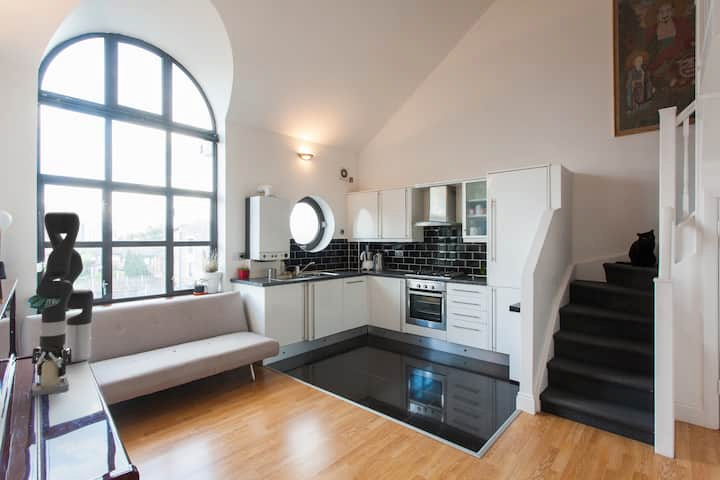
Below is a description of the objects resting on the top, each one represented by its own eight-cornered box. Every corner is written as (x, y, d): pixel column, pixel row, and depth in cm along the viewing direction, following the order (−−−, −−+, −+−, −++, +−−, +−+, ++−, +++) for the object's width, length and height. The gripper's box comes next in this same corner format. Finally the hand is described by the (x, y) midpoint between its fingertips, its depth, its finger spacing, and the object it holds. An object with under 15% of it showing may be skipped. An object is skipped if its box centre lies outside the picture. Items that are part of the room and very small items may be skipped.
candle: (37, 387, 134) (38, 360, 134) (54, 382, 139) (55, 356, 139) (46, 389, 132) (47, 362, 132) (63, 384, 137) (64, 358, 137)
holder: (32, 388, 135) (32, 383, 135) (66, 382, 142) (66, 377, 142) (32, 396, 128) (33, 391, 128) (68, 389, 135) (68, 384, 135)
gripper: (78, 331, 139) (76, 373, 138) (45, 329, 140) (43, 371, 140) (60, 336, 131) (58, 380, 131) (26, 334, 133) (24, 378, 132)
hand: (51, 375), depth 135 cm, fingers open, 8 cm apart
